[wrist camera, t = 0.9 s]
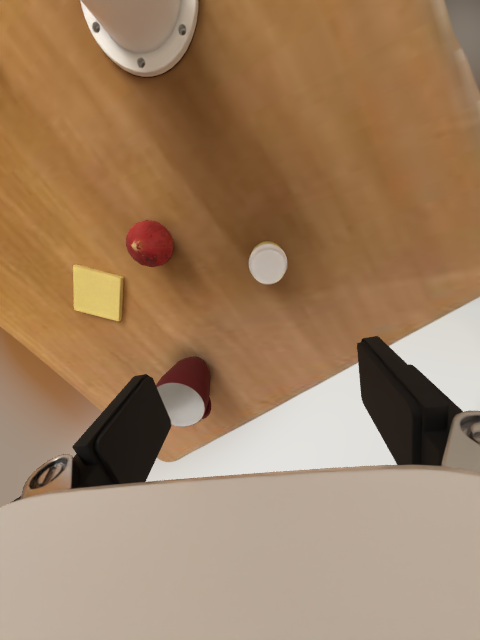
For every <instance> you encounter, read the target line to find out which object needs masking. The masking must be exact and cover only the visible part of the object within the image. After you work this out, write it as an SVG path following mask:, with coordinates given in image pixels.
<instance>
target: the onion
mask: <svg viewBox="0 0 480 640" xmlns="http://www.w3.org/2000/svg"><path fill="white" fill-rule="evenodd" d="M126 246H127V249H128V252H129V253H130V255H131V256H132V257H133V259H134V260H136V261H137V262H138V263H140V264H141V265H145V266H149V267H156V266H160V265H163V264H164V263H166V262H167V261H168V260H169V259H170V258H171V255H172V252H173V239H172V236H171V234H170V233H169V231H168V230H167V229H166V227H164V226H163V225H161V224H160V223H158V222H155V221H149V220H146V221H142V222H138V223H136V224H135V225H134V226H133V227H132V228H131V229H130V230H129V232H128V234H127V237H126Z"/></svg>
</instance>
